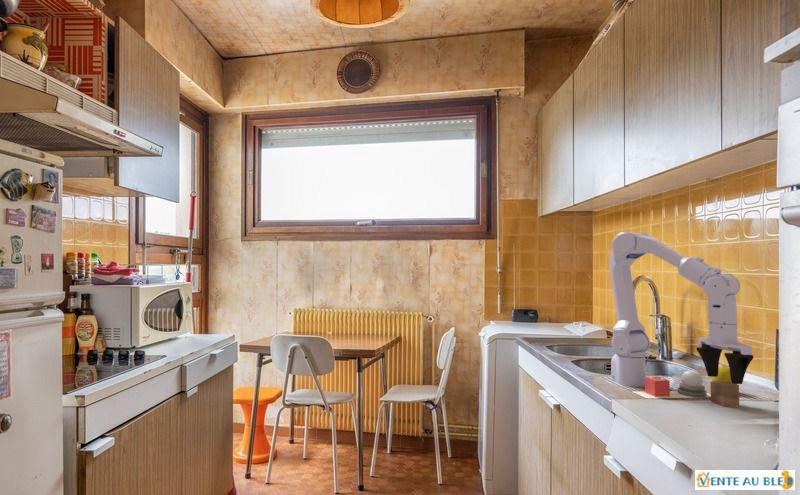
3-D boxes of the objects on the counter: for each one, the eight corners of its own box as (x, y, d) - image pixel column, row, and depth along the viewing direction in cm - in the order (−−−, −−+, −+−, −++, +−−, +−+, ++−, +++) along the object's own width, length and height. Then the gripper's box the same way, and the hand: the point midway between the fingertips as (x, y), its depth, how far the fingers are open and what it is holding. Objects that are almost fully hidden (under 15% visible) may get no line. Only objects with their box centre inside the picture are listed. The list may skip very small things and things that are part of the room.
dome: (674, 386, 124) (674, 368, 124) (694, 386, 124) (694, 368, 124) (689, 392, 118) (688, 372, 118) (710, 391, 119) (709, 372, 119)
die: (645, 392, 122) (645, 375, 122) (659, 392, 123) (659, 375, 123) (654, 396, 118) (654, 378, 118) (669, 396, 119) (669, 378, 119)
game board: (631, 395, 123) (631, 387, 123) (699, 394, 125) (699, 386, 125) (673, 414, 107) (672, 405, 107) (750, 412, 108) (750, 404, 108)
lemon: (726, 398, 120) (725, 367, 121) (707, 393, 126) (706, 363, 126) (743, 397, 122) (742, 366, 122) (723, 392, 127) (722, 362, 127)
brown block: (711, 406, 114) (710, 381, 114) (726, 405, 114) (725, 381, 114) (723, 411, 110) (722, 385, 110) (739, 410, 110) (738, 385, 110)
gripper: (686, 320, 120) (687, 373, 119) (730, 326, 105) (732, 387, 105) (712, 320, 120) (713, 373, 120) (759, 326, 106) (761, 387, 105)
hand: (724, 379), depth 112 cm, fingers open, 7 cm apart
